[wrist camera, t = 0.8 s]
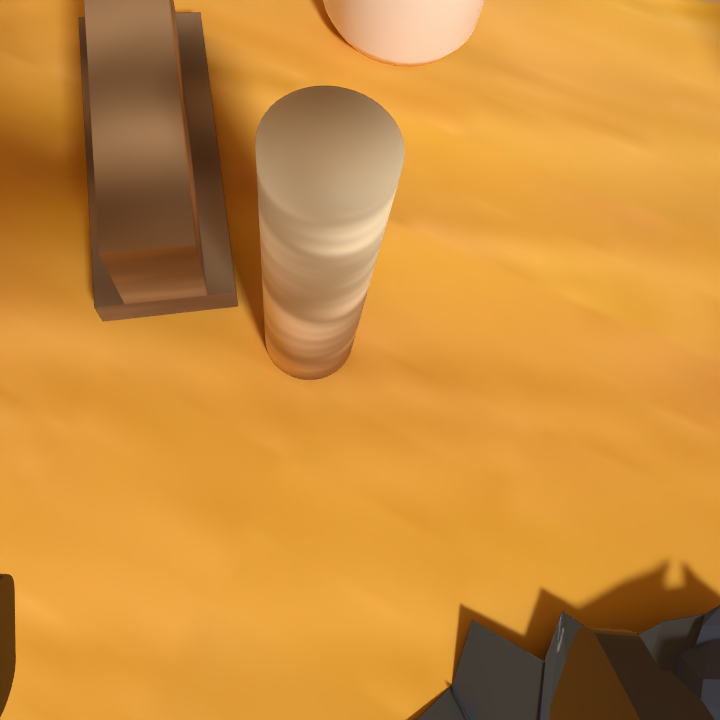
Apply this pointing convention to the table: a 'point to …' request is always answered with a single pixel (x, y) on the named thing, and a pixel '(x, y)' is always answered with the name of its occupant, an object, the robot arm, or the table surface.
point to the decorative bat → (540, 678)
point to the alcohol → (404, 27)
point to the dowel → (321, 220)
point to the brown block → (152, 163)
